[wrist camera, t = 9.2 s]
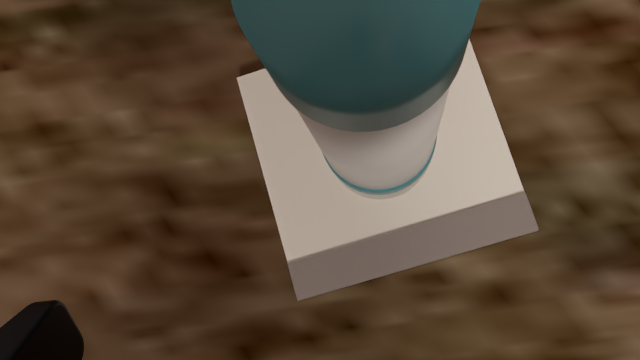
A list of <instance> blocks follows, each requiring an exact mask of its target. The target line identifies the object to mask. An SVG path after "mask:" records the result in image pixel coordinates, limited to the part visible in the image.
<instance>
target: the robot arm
mask: <svg viewBox="0 0 640 360" xmlns="http://www.w3.org/2000/svg"><path fill="white" fill-rule="evenodd" d="M83 352H84V342H83V338H82V335H81V333H80V331H79V329H78V328H77V326H76V324H75V322H74V320H73V319H72V317H71V315H70V313H69V312H68V310H67V308H66V306H65V305H64V304H63V303H62V302H60V301H57V300H51V301H42V302H35V303H32V304H30V305H28V306H27V307H26V308H24V309H23V310H22V311H21V312H19V313H18V314H17V315H16V316H14V317H13V318H12V319H11V320H9V321H8V322H7V323H6V324H4V325H3V326H2V327H1V328H0V360H82V357H83Z"/></svg>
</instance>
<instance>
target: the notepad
mask: <svg viewBox="0 0 640 360" xmlns="http://www.w3.org/2000/svg"><path fill="white" fill-rule="evenodd" d="M237 81H238V84H239V88H240V92H241V95H242V99H243V103H244V106H245V110H246V113H247V117H248V121H249V124H250V128H251V132H252V135H253V139H254V143H255V146H256V150H257V153H258V157H259V161H260V164H261V168H262V172H263V175H264V179H265V182H266V186H267V190H268V193H269V197H270V201H271V204H272V208H273V212H274V215H275V219H276V222H277V226H278V230H279V233H280V237H281V241H282V244H283V248H284V251H285V255H286V259H287V262H288V268H289V271H290V275H291V279H292V282H293V286H294V290H295V293H296V297H297V300H298V301H299V300H303V299H306V298H310V297H313V296H316V295H320V294H323V293H327V292H330V291H334V290H337V289H340V288H344V287H347V286H351V285H354V284H357V283H361V282H364V281H368V280H371V279H374V278H378V277H381V276H385V275H388V274H391V273H395V272H398V271H402V270H405V269H409V268H412V267H415V266H419V265H422V264H426V263H429V262H432V261H436V260H439V259H443V258H446V257H449V256H453V255H456V254H460V253H463V252H466V251H470V250H473V249H477V248H480V247H484V246H487V245H490V244H494V243H497V242H501V241H504V240H507V239H511V238H514V237H518V236H521V235H524V234H528V233H531V232H535V231H538V230H539V229H538V226H537V223H536V220H535V218H534V215H533V212H532V209H531V207H530V204H529V201H528V198H527V196H526V193H525V192H524V189H523V187H522V184H521V181H520V178H519V175H518V173H517V170H516V167H515V164H514V162H513V159H512V156H511V153H510V150H509V148H508V145H507V142H506V139H505V137H504V134H503V131H502V128H501V126H500V123H499V120H498V117H497V114H496V112H495V109H494V106H493V103H492V101H491V98H490V95H489V92H488V89H487V87H486V84H485V81H484V78H483V76H482V73H481V70H480V67H479V64H478V62H477V59H476V56H475V53H474V51H473V48H472V45H471V42H470V40H469V41H468V44H467V47H466V51H465V54H464V58H463V61H462V64H461V66H460V68H459V71H458V73H457V75H456V77H455V78H454V80H453V82H452V83H451V85H450V88H449V92H448V96H447V100H446V103H445V107H444V111H443V114H442V118H441V122H440V125H439V129H438V133H437V139H436V146H435V150H434V153H433V157H432V159H431V162H430V164H429V166H428V168H427V170H426V172H425V174H424V176H423V177H422V179H421V180H420V181H419V182H418V183H417V184H416V185H415V186H414V187H413V188H412V189H411V190H409V191H408V192H406V193H404V194H402V195H400V196H397V197H394V198H390V199H383V200H376V199H369V198H365V197H362V196H360V195H357V194H355V193H354V192H352V191H350V190H349V189H348V188H347V187H345V186H344V185H343V184H342V183H341V181H340V180H339V179H338V178H337V177H336V175H335V174H334V173H333V171H332V170H331V169H330V167H329V165H328V163H327V162H326V160H325V158H324V155H323V153H322V151H321V149H320V147H319V146H318V144H317V142H316V141H315V139H314V137H313V136H312V134H311V132H310V131H309V129H308V127H307V126H306V124H305V122H304V121H303V119H302V117H301V116H300V114H299V112H298V111H297V109H296V108H295V107H294V106H293V105H292V104H291V103H290V102H289V101H288V100H287V99H286V98H285V97H284V96H283V94H282V93H281V92H280V90H279V89H278V87H277V86H276V84H275V83H274V81H273V79H272V78H271V76H270V75H269V73H268V72H267V70H266V68H265V69H262V70H259V71H256V72H253V73H250V74H246V75H243V76H240V77H237Z"/></svg>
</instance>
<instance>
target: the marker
mask: <svg viewBox="0 0 640 360" xmlns="http://www.w3.org/2000/svg"><path fill="white" fill-rule="evenodd" d="M231 3H232V7H233V11H234V13H235V16H236V19H237V21H238V24H239V26H240V28H241V29H242V31H243V33H244V35H245V37H246V38H247V40H248V41H249V43H250V45H251V46H252V48H253V49H254V51H255V53H256V54H257V56H258V57H259V59H260V60H261V62H262V64H263V65H264V67H265V68H266V70H267V72H268V73H269V75H270V76H271V78H272V79H273V81H274V83H275V84H276V86H277V87H278V89H279V90H280V92H281V93H282V94H283V96H284V97H285V98H286V99H287V100H288V101H289V102H290V103H291V104H292V105H293V106H294V107H295V108H296V109H297V111H298V112H299V114H300V116H301V117H302V119H303V121H304V122H305V124H306V126H307V127H308V129H309V131H310V132H311V134H312V136H313V137H314V139H315V141H316V142H317V144H318V146H319V147H320V149H321V151H322V153H323V155H324V158H325V160H326V162H327V163H328V165H329V167H330V169H331V170H332V171H333V173H334V174H335V175H336V177H337V178H338V179H339V180H340V181H341V183H342V184H343V185H344V186H345V187H347V188H348V189H349V190H350V191H352V192H354V193H355V194H357V195H360V196H362V197H365V198H369V199H376V200H383V199H390V198H394V197H397V196H400V195H402V194H404V193H406V192H408V191H409V190H411V189H412V188H413V187H414V186H415V185H416V184H417V183H418V182H419V181H420V180H421V179H422V177H423V176H424V174H425V172H426V170H427V168H428V166H429V164H430V162H431V159H432V157H433V153H434V150H435V146H436V139H437V133H438V129H439V125H440V122H441V118H442V114H443V111H444V107H445V103H446V100H447V96H448V92H449V88H450V85H451V83H452V82H453V80H454V78H455V77H456V75H457V73H458V71H459V68H460V66H461V64H462V61H463V58H464V54H465V51H466V47H467V44H468V41H469V37H470V34H471V31H472V27H473V24H474V21H475V17H476V14H477V10H478V7H479V4H480V0H231Z"/></svg>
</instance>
